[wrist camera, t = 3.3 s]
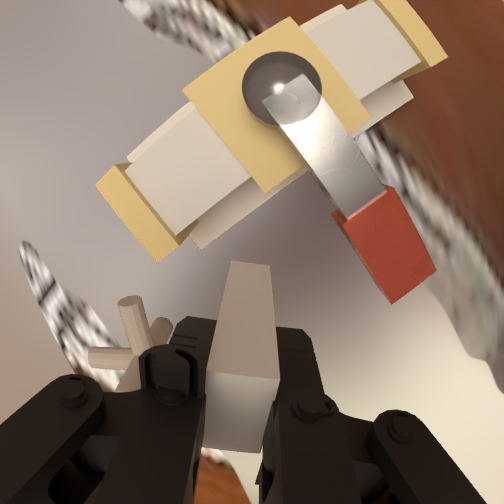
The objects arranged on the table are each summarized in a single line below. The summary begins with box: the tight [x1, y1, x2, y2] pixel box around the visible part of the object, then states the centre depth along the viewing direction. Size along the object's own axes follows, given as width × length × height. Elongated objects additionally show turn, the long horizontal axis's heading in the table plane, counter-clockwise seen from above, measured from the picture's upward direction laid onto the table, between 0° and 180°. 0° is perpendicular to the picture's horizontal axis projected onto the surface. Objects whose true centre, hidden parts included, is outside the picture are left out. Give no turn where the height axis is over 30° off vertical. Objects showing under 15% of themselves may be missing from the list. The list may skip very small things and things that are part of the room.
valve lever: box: [242, 51, 436, 304], centre depth 12 cm, size 12×3×2 cm, turn 37°
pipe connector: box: [88, 296, 173, 392], centre depth 23 cm, size 10×10×10 cm
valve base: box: [95, 0, 448, 263], centre depth 17 cm, size 9×20×10 cm, turn 127°
